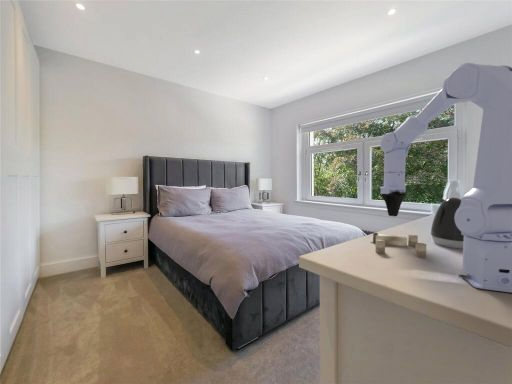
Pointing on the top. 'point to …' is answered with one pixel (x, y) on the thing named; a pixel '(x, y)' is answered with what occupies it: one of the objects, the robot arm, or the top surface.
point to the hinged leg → (391, 239)
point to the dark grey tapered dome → (447, 224)
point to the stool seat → (412, 242)
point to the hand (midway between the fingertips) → (392, 215)
